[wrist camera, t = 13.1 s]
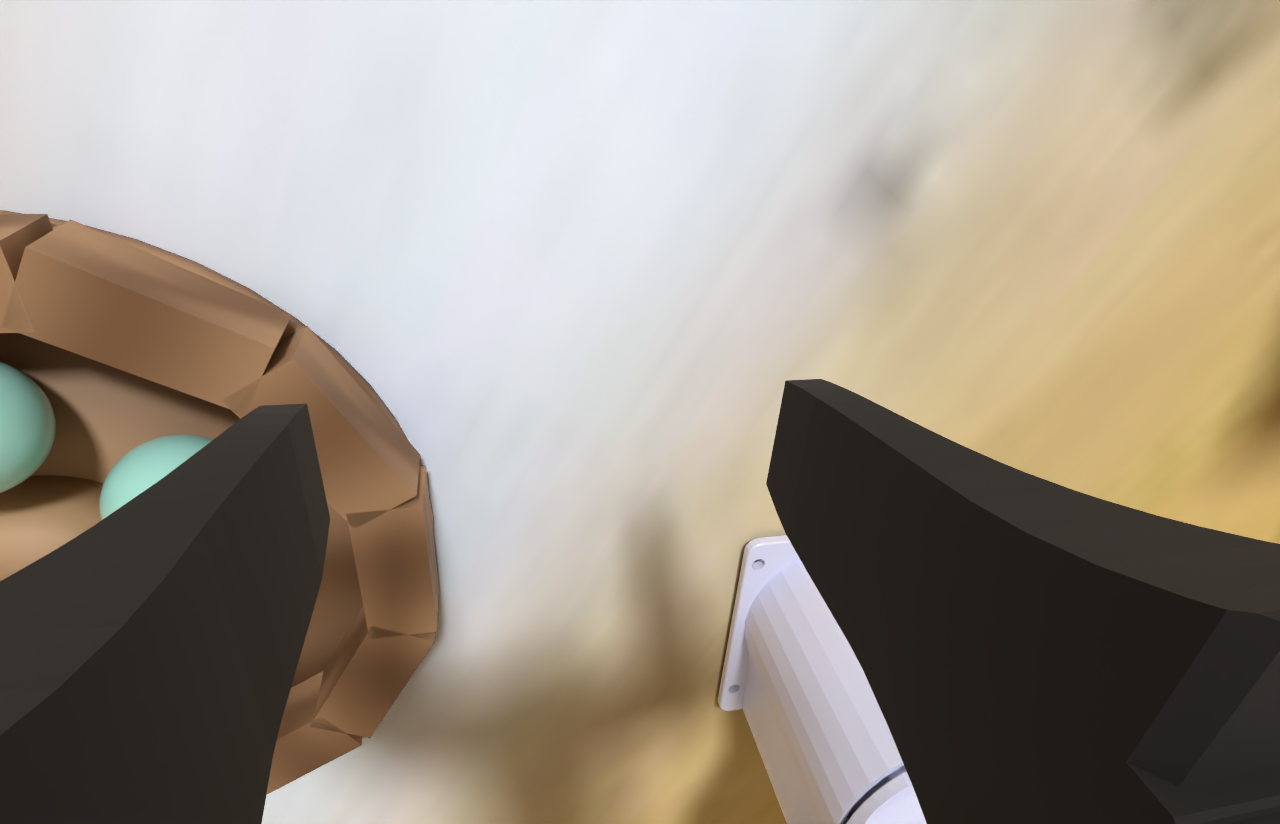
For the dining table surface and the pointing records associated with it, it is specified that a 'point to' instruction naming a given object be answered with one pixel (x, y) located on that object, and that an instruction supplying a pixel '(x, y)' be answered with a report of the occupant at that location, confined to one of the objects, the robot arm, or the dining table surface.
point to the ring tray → (207, 406)
